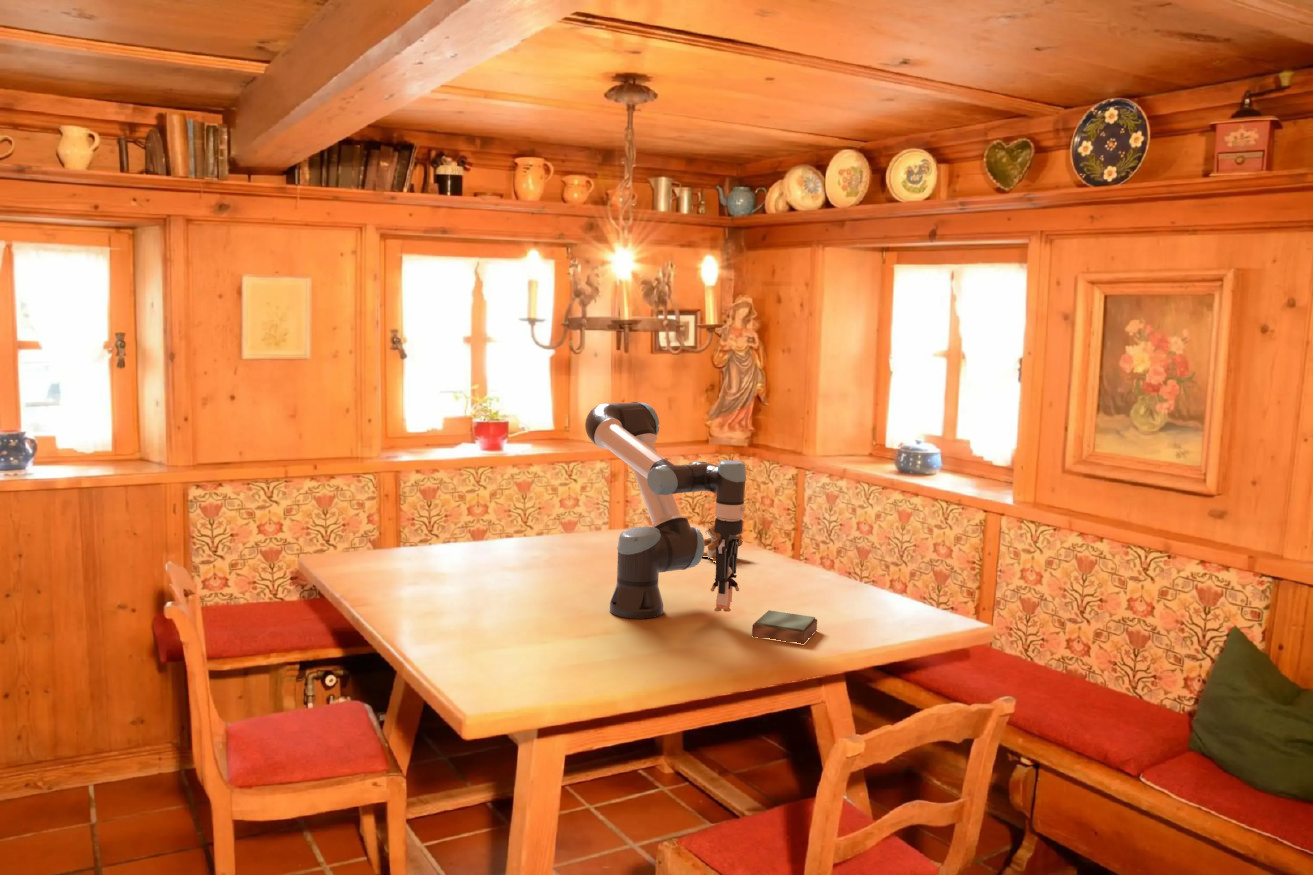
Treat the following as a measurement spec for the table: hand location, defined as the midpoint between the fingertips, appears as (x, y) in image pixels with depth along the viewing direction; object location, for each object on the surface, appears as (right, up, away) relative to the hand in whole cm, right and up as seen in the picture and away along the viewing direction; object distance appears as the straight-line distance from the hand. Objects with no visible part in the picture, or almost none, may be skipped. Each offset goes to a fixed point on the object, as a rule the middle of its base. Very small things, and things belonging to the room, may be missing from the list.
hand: (724, 602), depth 285 cm
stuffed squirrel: (+4, +2, +78) cm, 78 cm away
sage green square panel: (+16, -8, -6) cm, 18 cm away
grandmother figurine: (0, -2, 0) cm, 2 cm away
